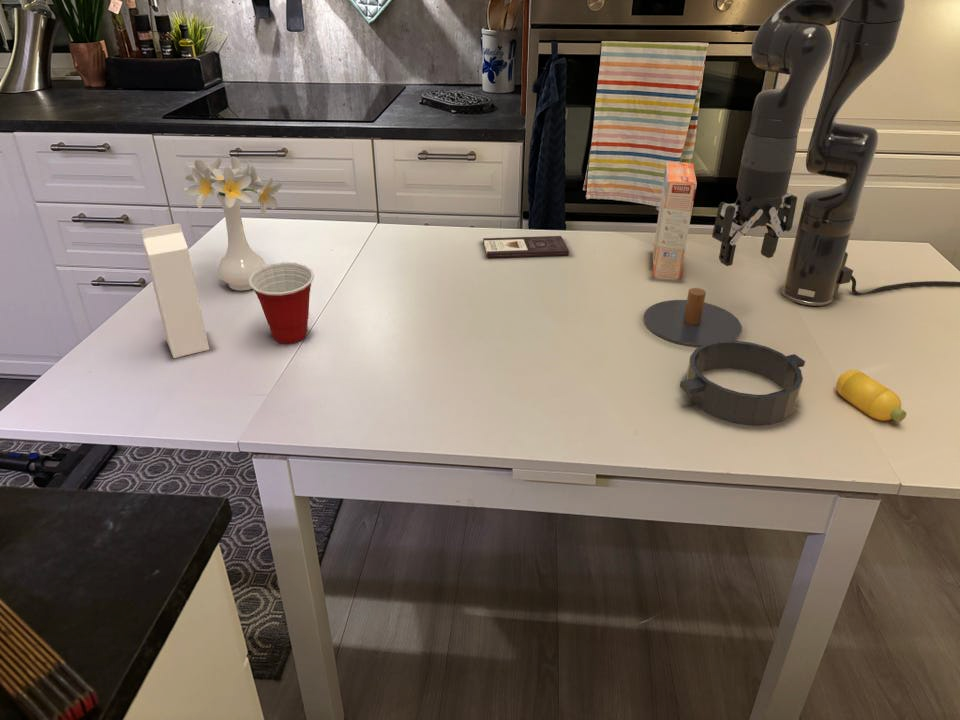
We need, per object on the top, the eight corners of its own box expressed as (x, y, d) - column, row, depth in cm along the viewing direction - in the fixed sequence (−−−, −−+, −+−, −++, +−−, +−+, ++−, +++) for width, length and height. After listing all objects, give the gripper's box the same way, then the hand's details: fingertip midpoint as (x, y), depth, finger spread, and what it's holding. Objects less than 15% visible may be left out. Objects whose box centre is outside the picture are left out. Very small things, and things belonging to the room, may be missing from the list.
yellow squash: (826, 393, 117) (833, 367, 114) (849, 387, 118) (857, 361, 116) (884, 433, 108) (894, 406, 105) (908, 426, 109) (918, 400, 107)
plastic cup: (255, 354, 126) (244, 291, 120) (261, 324, 135) (251, 264, 129) (320, 349, 127) (312, 287, 121) (321, 320, 137) (314, 260, 130)
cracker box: (681, 282, 152) (698, 182, 141) (651, 279, 153) (665, 180, 142) (679, 255, 164) (694, 161, 153) (652, 253, 165) (665, 160, 154)
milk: (209, 350, 127) (184, 229, 116) (172, 358, 125) (143, 236, 113) (202, 334, 132) (177, 217, 120) (166, 342, 129) (137, 223, 118)
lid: (625, 313, 140) (629, 279, 136) (701, 298, 145) (707, 265, 142) (679, 358, 126) (685, 321, 122) (761, 339, 132) (769, 303, 128)
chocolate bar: (568, 251, 163) (487, 253, 161) (568, 255, 163) (487, 257, 161) (560, 235, 170) (483, 238, 169) (560, 239, 171) (483, 242, 169)
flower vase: (279, 301, 143) (260, 174, 130) (190, 294, 145) (163, 169, 132) (303, 273, 154) (288, 154, 141) (220, 267, 156) (198, 149, 143)
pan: (650, 384, 119) (654, 354, 116) (758, 358, 126) (765, 330, 123) (714, 442, 106) (721, 410, 103) (831, 410, 113) (840, 379, 110)
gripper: (746, 175, 108) (727, 276, 116) (820, 163, 113) (796, 261, 121) (713, 161, 114) (696, 258, 122) (784, 151, 119) (764, 245, 127)
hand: (746, 260), depth 122 cm, fingers open, 8 cm apart
